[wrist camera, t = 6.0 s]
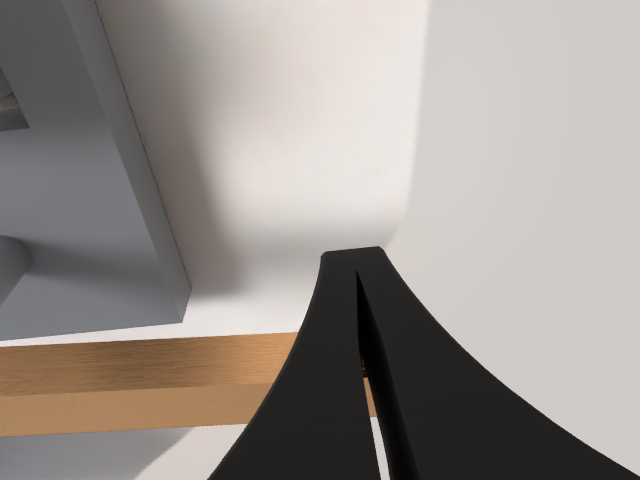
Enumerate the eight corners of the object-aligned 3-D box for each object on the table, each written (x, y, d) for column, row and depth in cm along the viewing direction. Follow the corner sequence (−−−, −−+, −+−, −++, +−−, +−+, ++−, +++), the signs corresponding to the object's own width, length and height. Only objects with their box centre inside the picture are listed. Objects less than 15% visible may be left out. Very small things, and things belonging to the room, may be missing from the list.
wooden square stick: (-112, 403, 13) (-155, 456, 12) (-167, 342, 11) (-224, 395, 10) (410, 376, 13) (422, 425, 12) (419, 313, 12) (433, 361, 10)
